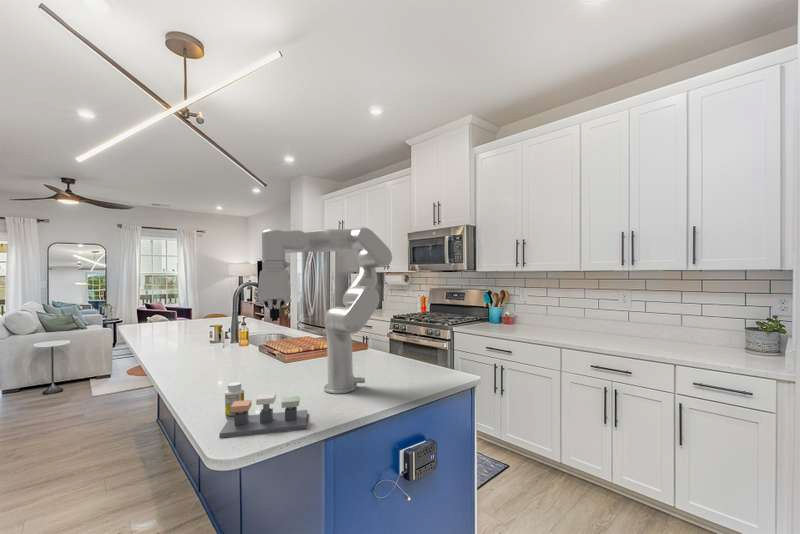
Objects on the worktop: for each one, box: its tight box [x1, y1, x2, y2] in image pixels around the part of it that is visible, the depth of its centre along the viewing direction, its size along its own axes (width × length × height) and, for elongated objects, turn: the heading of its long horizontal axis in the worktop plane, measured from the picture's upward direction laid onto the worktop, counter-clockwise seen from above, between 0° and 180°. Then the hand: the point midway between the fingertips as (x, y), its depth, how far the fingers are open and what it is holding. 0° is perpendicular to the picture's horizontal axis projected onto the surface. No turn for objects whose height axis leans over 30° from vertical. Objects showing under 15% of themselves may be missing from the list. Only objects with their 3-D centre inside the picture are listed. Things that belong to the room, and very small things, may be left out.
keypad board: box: [218, 406, 308, 439], centre depth 110 cm, size 23×12×4 cm, turn 102°
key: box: [231, 399, 253, 415], centre depth 109 cm, size 5×5×5 cm
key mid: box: [255, 392, 277, 412], centre depth 110 cm, size 5×5×5 cm
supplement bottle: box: [224, 381, 245, 420], centre depth 118 cm, size 6×6×10 cm
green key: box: [281, 395, 301, 410], centre depth 112 cm, size 5×5×5 cm
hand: (275, 320), depth 126 cm, fingers closed
